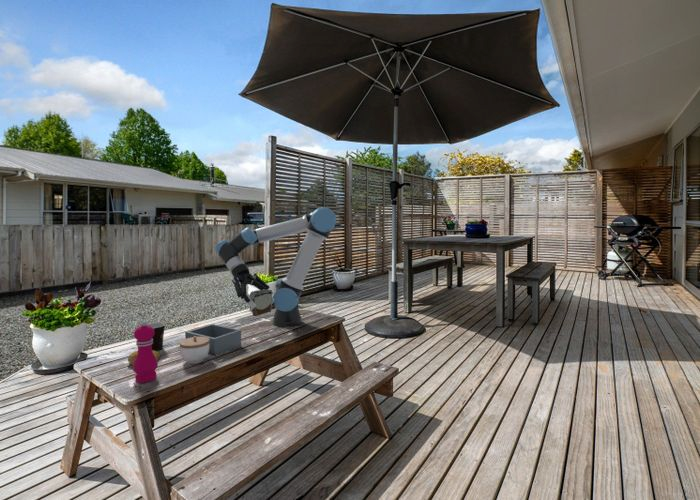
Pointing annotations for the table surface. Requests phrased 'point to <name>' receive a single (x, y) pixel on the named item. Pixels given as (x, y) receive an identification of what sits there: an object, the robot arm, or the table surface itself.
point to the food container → (261, 301)
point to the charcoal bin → (218, 338)
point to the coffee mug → (157, 335)
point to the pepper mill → (144, 354)
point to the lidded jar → (195, 349)
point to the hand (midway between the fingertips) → (263, 304)
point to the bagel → (133, 356)
